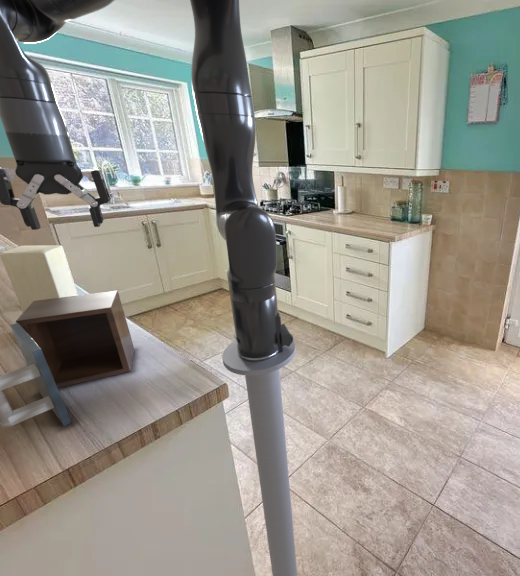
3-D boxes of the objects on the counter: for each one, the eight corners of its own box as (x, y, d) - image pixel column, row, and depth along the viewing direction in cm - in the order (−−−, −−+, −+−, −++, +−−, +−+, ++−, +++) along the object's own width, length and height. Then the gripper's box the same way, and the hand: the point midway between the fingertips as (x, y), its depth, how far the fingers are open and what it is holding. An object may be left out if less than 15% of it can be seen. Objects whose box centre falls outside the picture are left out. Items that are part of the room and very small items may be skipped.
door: (14, 449, 50) (-28, 371, 44) (-6, 412, 56) (-45, 339, 51) (71, 422, 55) (41, 348, 49) (47, 390, 62) (18, 322, 56)
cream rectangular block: (90, 321, 85) (64, 243, 77) (73, 336, 79) (43, 252, 71) (53, 324, 83) (22, 244, 75) (33, 339, 77) (-3, 253, 69)
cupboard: (130, 371, 68) (110, 307, 62) (45, 390, 62) (15, 321, 56) (134, 349, 75) (117, 290, 69) (59, 364, 69) (33, 300, 63)
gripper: (-37, 127, 48) (6, 234, 54) (88, 134, 55) (114, 229, 61) (-15, 128, 54) (21, 225, 60) (96, 135, 61) (118, 221, 67)
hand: (68, 227), depth 61 cm, fingers open, 8 cm apart
